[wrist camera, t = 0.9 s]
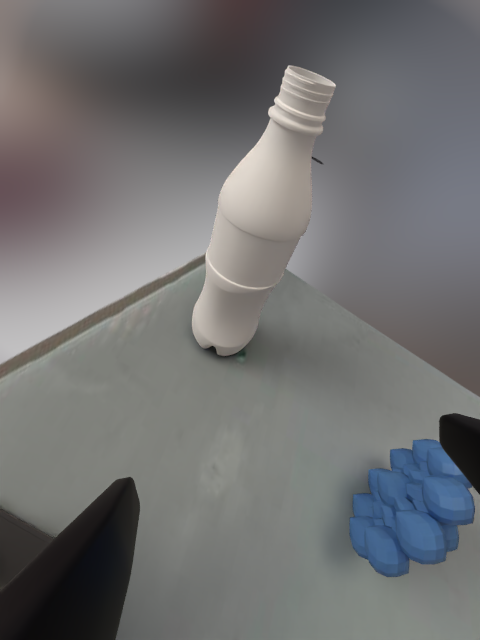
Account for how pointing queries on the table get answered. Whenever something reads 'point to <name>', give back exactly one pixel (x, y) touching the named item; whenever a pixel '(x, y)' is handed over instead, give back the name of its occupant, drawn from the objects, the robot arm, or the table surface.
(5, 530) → the hob
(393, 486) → the grapes
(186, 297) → the table surface
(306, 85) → the water bottle
